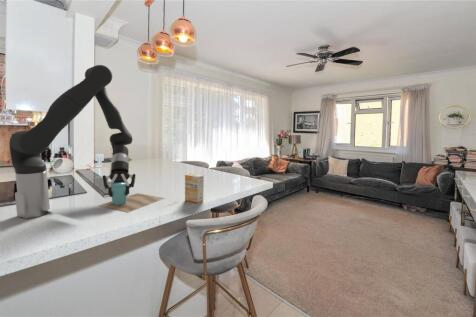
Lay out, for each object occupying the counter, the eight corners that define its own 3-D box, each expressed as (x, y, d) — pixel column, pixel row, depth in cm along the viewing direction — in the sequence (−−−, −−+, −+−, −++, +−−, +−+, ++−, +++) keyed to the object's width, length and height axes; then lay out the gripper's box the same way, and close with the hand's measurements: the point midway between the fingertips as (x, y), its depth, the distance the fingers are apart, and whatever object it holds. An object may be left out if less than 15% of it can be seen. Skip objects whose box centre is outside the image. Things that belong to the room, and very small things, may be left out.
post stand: (127, 216, 94) (126, 195, 93) (97, 208, 101) (96, 189, 100) (165, 201, 114) (164, 184, 113) (137, 195, 121) (137, 179, 120)
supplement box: (184, 200, 115) (184, 174, 114) (190, 198, 120) (190, 173, 118) (197, 203, 111) (197, 176, 110) (203, 200, 116) (203, 174, 114)
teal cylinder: (118, 205, 101) (117, 185, 100) (109, 203, 104) (107, 183, 103) (129, 201, 107) (129, 182, 106) (120, 200, 109) (119, 181, 108)
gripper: (101, 160, 107) (98, 192, 98) (136, 159, 113) (136, 189, 103) (104, 169, 113) (101, 201, 103) (136, 168, 118) (136, 198, 109)
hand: (118, 195), depth 103 cm, fingers closed on teal cylinder, 5 cm apart
